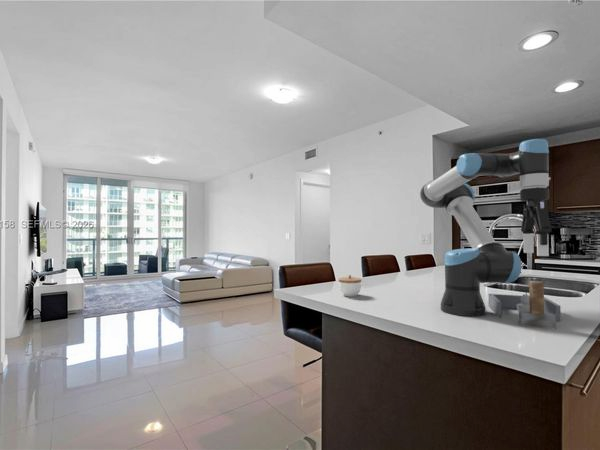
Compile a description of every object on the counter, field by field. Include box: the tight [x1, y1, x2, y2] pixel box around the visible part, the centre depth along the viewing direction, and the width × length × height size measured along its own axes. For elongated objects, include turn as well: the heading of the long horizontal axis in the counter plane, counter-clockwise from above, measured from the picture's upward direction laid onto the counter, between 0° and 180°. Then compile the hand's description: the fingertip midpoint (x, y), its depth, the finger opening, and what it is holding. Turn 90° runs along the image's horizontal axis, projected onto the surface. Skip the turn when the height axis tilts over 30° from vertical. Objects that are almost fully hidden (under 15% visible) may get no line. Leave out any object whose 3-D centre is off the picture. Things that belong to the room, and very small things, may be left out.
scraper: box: [518, 280, 557, 329], centre depth 101 cm, size 9×3×14 cm, turn 69°
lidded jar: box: [338, 274, 362, 298], centre depth 150 cm, size 11×11×9 cm
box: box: [488, 293, 562, 322], centre depth 117 cm, size 18×15×5 cm
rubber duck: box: [517, 292, 530, 312], centre depth 115 cm, size 5×7×8 cm
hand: (535, 254), depth 102 cm, fingers open, 13 cm apart
